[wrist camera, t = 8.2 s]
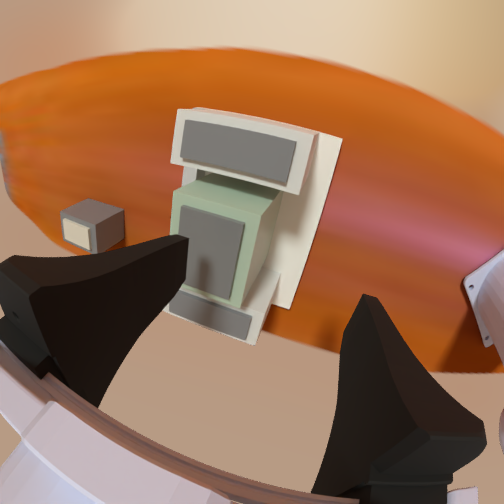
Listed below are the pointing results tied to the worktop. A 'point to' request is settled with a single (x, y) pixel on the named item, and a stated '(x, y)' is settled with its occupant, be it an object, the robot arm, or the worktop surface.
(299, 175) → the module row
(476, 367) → the worktop surface
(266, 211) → the green module
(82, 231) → the block
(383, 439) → the robot arm
